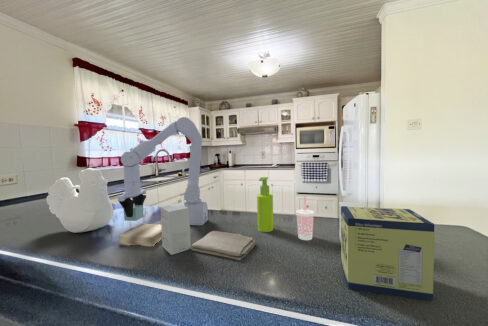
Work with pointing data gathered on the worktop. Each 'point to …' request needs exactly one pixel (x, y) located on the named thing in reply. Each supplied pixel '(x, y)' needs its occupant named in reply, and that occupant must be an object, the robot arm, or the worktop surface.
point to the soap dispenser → (265, 207)
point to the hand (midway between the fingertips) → (134, 214)
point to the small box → (175, 228)
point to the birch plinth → (142, 235)
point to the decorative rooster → (81, 202)
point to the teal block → (135, 213)
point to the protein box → (387, 251)
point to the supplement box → (349, 206)
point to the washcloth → (225, 245)
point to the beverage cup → (305, 222)
